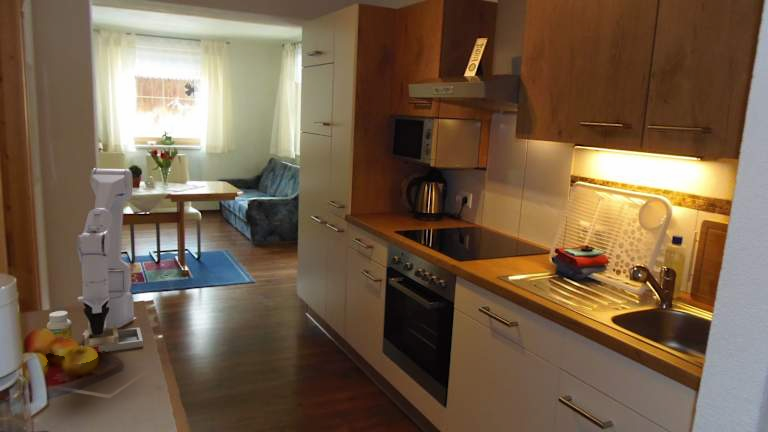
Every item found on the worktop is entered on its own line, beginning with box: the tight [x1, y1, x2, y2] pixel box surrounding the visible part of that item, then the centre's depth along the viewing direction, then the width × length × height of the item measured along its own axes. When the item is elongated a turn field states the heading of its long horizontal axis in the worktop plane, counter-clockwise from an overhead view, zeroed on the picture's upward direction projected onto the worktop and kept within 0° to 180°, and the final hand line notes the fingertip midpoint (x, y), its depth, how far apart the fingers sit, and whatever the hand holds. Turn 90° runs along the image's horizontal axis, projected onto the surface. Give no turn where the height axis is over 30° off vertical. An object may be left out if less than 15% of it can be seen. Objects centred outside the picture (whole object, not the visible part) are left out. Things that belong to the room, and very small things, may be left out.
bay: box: [82, 327, 144, 353], centre depth 144 cm, size 14×10×2 cm
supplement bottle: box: [46, 310, 73, 340], centre depth 139 cm, size 5×5×10 cm
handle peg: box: [87, 318, 107, 339], centre depth 142 cm, size 4×4×7 cm
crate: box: [84, 326, 119, 346], centre depth 143 cm, size 8×8×3 cm
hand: (97, 331), depth 142 cm, fingers closed on handle peg, 4 cm apart
